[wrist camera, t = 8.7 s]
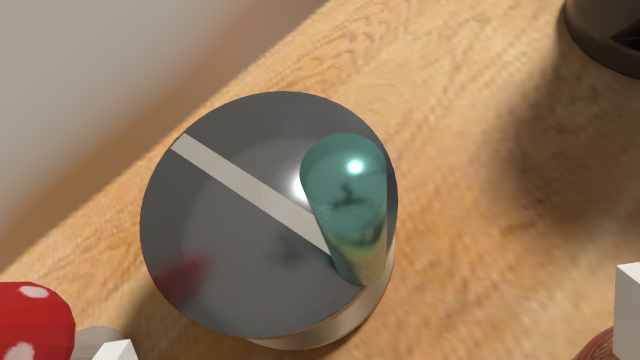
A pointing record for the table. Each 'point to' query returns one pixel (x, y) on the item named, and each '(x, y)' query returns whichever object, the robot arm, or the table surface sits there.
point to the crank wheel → (269, 215)
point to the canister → (599, 347)
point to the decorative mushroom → (44, 326)
